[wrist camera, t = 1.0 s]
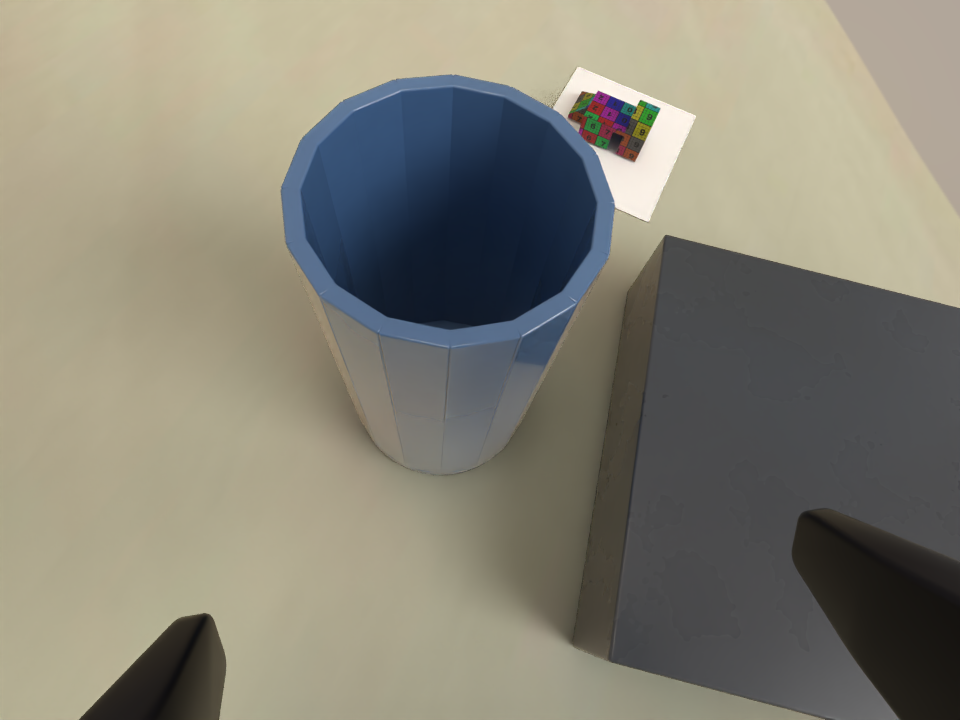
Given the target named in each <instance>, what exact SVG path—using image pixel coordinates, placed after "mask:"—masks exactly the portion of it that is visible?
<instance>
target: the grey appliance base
mask: <svg viewBox="0 0 960 720" xmlns="http://www.w3.org/2000/svg"><path fill="white" fill-rule="evenodd" d="M820 508H829V509H832V510H835V511H837V512H840V513H842V514H845V515H847V516H850V517H852V518H855V519H857V520H859V521H862V522H864V523H867V524H869V525H872V526H874V527H877V528H879V529H882V530H884V531H887V532H889V533H892V534H894V535H897V536H899V537H902V538H904V539H907V540H909V541H912V542H914V543H917V544H919V545H922V546H924V547H926V548H929V549H931V550H934V551H936V552H939V553H941V554H944V555H946V556H949V557H951V558H954V559H956V560H959V561H960V308H957V307H953V306H949V305H945V304H941V303H937V302H933V301H929V300H925V299H921V298H917V297H913V296H909V295H905V294H901V293H897V292H893V291H889V290H885V289H881V288H877V287H873V286H869V285H865V284H861V283H857V282H853V281H849V280H845V279H841V278H837V277H833V276H829V275H825V274H821V273H817V272H813V271H809V270H805V269H801V268H797V267H793V266H789V265H785V264H781V263H777V262H773V261H769V260H765V259H761V258H757V257H753V256H749V255H745V254H741V253H737V252H733V251H729V250H725V249H721V248H717V247H713V246H709V245H705V244H701V243H697V242H693V241H689V240H685V239H681V238H677V237H673V236H669V235H665V236H664V238H663V239H662V241H661V242H660V244H659V245H658V247H657V248H656V250H655V251H654V253H653V254H652V256H651V257H650V259H649V260H648V262H647V263H646V265H645V267H644V268H643V270H642V271H641V273H640V274H639V276H638V277H637V279H636V280H635V282H634V283H633V285H632V286H631V288H630V289H629V291H628V294H627V300H626V307H625V313H624V319H623V326H622V332H621V338H620V345H619V351H618V358H617V364H616V370H615V377H614V383H613V389H612V396H611V402H610V409H609V415H608V421H607V428H606V434H605V440H604V447H603V453H602V460H601V466H600V472H599V479H598V485H597V491H596V498H595V504H594V511H593V517H592V523H591V530H590V536H589V542H588V549H587V555H586V562H585V568H584V574H583V581H582V587H581V593H580V600H579V606H578V613H577V619H576V625H575V632H574V638H573V647H574V648H577V649H579V650H582V651H584V652H587V653H589V654H592V655H594V656H596V657H599V658H601V659H604V660H606V661H609V662H612V663H615V664H619V665H623V666H627V667H630V668H634V669H638V670H642V671H645V672H649V673H653V674H657V675H660V676H664V677H668V678H672V679H676V680H679V681H683V682H687V683H691V684H694V685H698V686H702V687H706V688H709V689H713V690H717V691H721V692H724V693H728V694H732V695H736V696H740V697H743V698H747V699H751V700H755V701H758V702H762V703H766V704H770V705H773V706H777V707H781V708H785V709H788V710H792V711H796V712H800V713H804V714H807V715H811V716H815V717H819V718H822V719H826V720H899V718H898V717H897V716H896V715H895V713H894V712H893V711H892V709H891V708H890V707H889V705H888V704H887V703H886V701H885V700H884V699H883V697H882V696H881V695H880V693H879V692H878V691H877V689H876V688H875V687H874V685H873V684H872V683H871V682H870V680H869V679H868V678H867V676H866V675H865V674H864V672H863V671H862V669H861V668H860V667H859V665H858V664H857V663H856V661H855V660H854V658H853V657H852V655H851V654H850V652H849V651H848V649H847V648H846V646H845V645H844V643H843V642H842V640H841V639H840V637H839V636H838V634H837V632H836V631H835V629H834V628H833V626H832V625H831V623H830V621H829V620H828V618H827V617H826V615H825V613H824V612H823V610H822V609H821V607H820V605H819V604H818V602H817V601H816V599H815V598H814V596H813V594H812V593H811V591H810V590H809V588H808V586H807V585H806V583H805V582H804V580H803V579H802V577H801V575H800V574H799V572H798V571H797V569H796V567H795V565H794V563H793V559H792V553H791V552H792V545H793V541H794V536H795V531H796V526H797V521H798V517H799V516H800V514H801V513H802V512H804V511H808V510H814V509H820Z"/></svg>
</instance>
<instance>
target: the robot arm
mask: <svg viewBox="0 0 960 720" xmlns="http://www.w3.org/2000/svg"><path fill="white" fill-rule="evenodd" d="M791 553H792V559H793V563H794V565H795V567H796V569H797V571H798V572H799V574H800V575H801V577H802V579H803V580H804V582H805V583H806V585H807V586H808V588H809V590H810V591H811V593H812V594H813V596H814V598H815V599H816V601H817V602H818V604H819V605H820V607H821V609H822V610H823V612H824V613H825V615H826V617H827V618H828V620H829V621H830V623H831V625H832V626H833V628H834V629H835V631H836V632H837V634H838V636H839V637H840V639H841V640H842V642H843V643H844V645H845V646H846V648H847V649H848V651H849V652H850V654H851V655H852V657H853V658H854V660H855V661H856V663H857V664H858V665H859V667H860V668H861V669H862V671H863V672H864V674H865V675H866V676H867V678H868V679H869V680H870V682H871V683H872V684H873V685H874V687H875V688H876V689H877V691H878V692H879V693H880V695H881V696H882V697H883V699H884V700H885V701H886V703H887V704H888V705H889V707H890V708H891V709H892V711H893V712H894V713H895V715H896V716H897V717H898V718H899V720H960V561H959V560H956V559H954V558H951V557H949V556H946V555H944V554H941V553H939V552H936V551H934V550H931V549H929V548H926V547H924V546H922V545H919V544H917V543H914V542H912V541H909V540H907V539H904V538H902V537H899V536H897V535H894V534H892V533H889V532H887V531H884V530H882V529H879V528H877V527H874V526H872V525H869V524H867V523H864V522H862V521H859V520H857V519H855V518H852V517H850V516H847V515H845V514H842V513H840V512H837V511H835V510H832V509H829V508H820V509H814V510H808V511H804V512H802V513H801V514H800V516H799V517H798V521H797V526H796V531H795V536H794V541H793V545H792V552H791ZM225 675H226V657H225V652H224V649H223V646H222V643H221V640H220V637H219V634H218V631H217V628H216V625H215V622H214V620H213V618H212V616H211V615H210V614H206V613H203V614H197V615H191V616H185V617H181V618H178V619H177V620H176V621H174V622H173V623H172V624H171V625H170V626H169V627H168V628H167V629H166V630H165V631H164V632H163V633H162V634H161V635H160V636H159V637H158V639H157V640H156V641H155V642H154V643H153V644H152V645H151V646H150V647H149V648H148V649H147V650H146V651H145V652H144V653H143V654H142V655H141V656H140V657H139V658H138V659H137V660H136V661H135V662H134V663H133V664H132V665H131V666H130V667H129V668H128V669H127V671H126V672H125V673H124V674H123V675H122V676H121V677H120V678H119V679H118V680H117V681H116V682H115V683H114V684H113V685H112V686H111V687H110V688H109V689H108V690H107V691H106V692H105V693H104V694H103V695H102V696H101V697H100V698H99V699H98V700H97V701H96V703H95V704H94V705H93V706H92V707H91V708H90V709H89V710H88V711H87V712H86V713H85V714H84V715H83V716H82V717H81V718H80V719H79V720H219V716H220V709H221V702H222V695H223V688H224V682H225Z"/></svg>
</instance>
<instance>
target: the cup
mask: <svg viewBox="0 0 960 720" xmlns="http://www.w3.org/2000/svg"><path fill="white" fill-rule="evenodd" d="M281 201H282V211H283V222H284V233H285V243H286V245H287V249H288V251H289V253H290V256H291V258H292V260H293V263H294V265H295V267H296V270H297V272H298V275H299V277H300V279H301V282H302V284H303V286H304V289H305V291H306V293H307V296H308V298H309V300H310V303H311V305H312V308H313V310H314V312H315V315H316V317H317V319H318V322H319V324H320V326H321V329H322V331H323V334H324V336H325V338H326V341H327V343H328V345H329V348H330V350H331V352H332V355H333V357H334V360H335V362H336V364H337V367H338V369H339V371H340V374H341V376H342V378H343V381H344V383H345V386H346V388H347V390H348V393H349V395H350V397H351V400H352V402H353V404H354V407H355V409H356V411H357V414H358V416H359V419H360V420H361V422H362V424H363V425H364V427H365V429H366V431H367V432H368V434H369V436H370V438H371V439H372V440H373V442H374V443H375V445H376V446H377V447H378V448H379V449H380V450H381V451H382V452H383V453H384V454H385V455H386V456H388V457H389V458H390V459H392V460H393V461H395V462H396V463H398V464H400V465H401V466H404V467H406V468H408V469H411V470H413V471H417V472H421V473H425V474H432V475H450V474H457V473H461V472H465V471H469V470H471V469H474V468H476V467H479V466H480V465H482V464H484V463H486V462H487V461H489V460H490V459H492V458H493V457H494V456H496V455H497V454H498V453H499V452H500V451H501V450H502V449H503V448H504V447H505V446H506V445H507V443H508V442H509V440H510V439H511V438H512V436H513V434H514V432H515V431H516V429H517V428H518V426H519V425H520V423H521V422H522V420H523V418H524V416H525V414H526V412H527V410H528V408H529V407H530V405H531V403H532V401H533V399H534V397H535V395H536V393H537V392H538V390H539V388H540V386H541V384H542V382H543V380H544V378H545V376H546V375H547V373H548V371H549V369H550V367H551V365H552V363H553V361H554V360H555V358H556V356H557V354H558V352H559V350H560V348H561V346H562V344H563V343H564V341H565V339H566V337H567V335H568V333H569V331H570V329H571V328H572V326H573V324H574V322H575V320H576V318H577V316H578V314H579V312H580V311H581V309H582V307H583V305H584V303H585V301H586V299H587V297H588V296H589V294H590V292H591V290H592V288H593V286H594V284H595V282H596V280H597V279H598V277H599V275H600V273H601V271H602V269H603V267H604V265H605V264H606V262H607V260H608V257H609V255H610V246H611V237H612V229H613V220H614V211H615V204H614V203H615V202H614V199H613V196H612V193H611V190H610V187H609V185H608V182H607V179H606V176H605V174H604V171H603V168H602V165H601V163H600V160H599V157H598V155H597V154H596V152H595V150H594V149H593V148H592V147H591V146H590V145H589V144H588V143H587V142H586V141H585V140H584V138H583V137H582V136H581V135H580V134H579V133H578V132H577V131H576V130H575V129H574V127H573V126H572V125H571V124H570V123H569V122H568V121H567V120H566V119H565V118H564V117H563V115H562V114H560V113H559V112H557V111H555V110H554V109H552V108H550V107H548V106H546V105H544V104H543V103H541V102H539V101H537V100H535V99H533V98H532V97H530V96H528V95H526V94H524V93H522V92H521V91H519V90H517V89H515V88H513V87H510V86H508V85H503V84H498V83H493V82H489V81H484V80H479V79H474V78H469V77H464V76H459V75H452V74H450V75H438V76H426V77H414V78H402V79H396V80H391V81H389V82H387V83H384V84H382V85H379V86H377V87H374V88H372V89H370V90H367V91H365V92H362V93H360V94H357V95H355V96H353V97H350V98H348V99H345V100H343V102H340V103H339V104H338V105H337V106H336V107H335V108H334V109H333V110H332V111H330V112H329V113H328V114H327V115H326V116H325V117H324V118H323V119H322V120H321V121H320V122H319V123H318V124H316V125H315V126H314V127H313V128H312V129H311V130H310V131H309V132H308V133H307V134H306V135H305V136H303V138H302V139H301V141H300V143H299V145H298V148H297V150H296V153H295V155H294V157H293V160H292V162H291V165H290V167H289V169H288V172H287V174H286V177H285V179H284V182H283V184H282V186H281Z"/></svg>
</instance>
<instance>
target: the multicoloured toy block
mask: <svg viewBox="0 0 960 720" xmlns="http://www.w3.org/2000/svg"><path fill="white" fill-rule="evenodd" d="M552 109H554V110H555V111H557V112H559V113H560V114H562V115H563V117H564V118H565V119H566V120H567V121H568V122H569V123H570V124H571V125H572V126H573V127H574V129H575V130H576V131H577V132H578V133H579V134H580V135H581V136H582V137H583V138H584V140H585V141H586V142H587V143H588V144H589V145H590V146H591V147H592V148H593V149H594V150H595V152H596V154H597V155H598V157H599V160H600V163H601V165H602V168H603V171H604V174H605V176H606V179H607V182H608V185H609V187H610V190H611V193H612V196H613V199H614V202H615V203H614V204H615V208H617V209H619V210H621V211H624V212H626V213H628V214H630V215H633V216H635V217H637V218H640V219H642V220H644V221H646V222H649V219H650V217H651V215H652V213H653V211H654V208H655V206H656V204H657V202H658V199H659V197H660V195H661V193H662V191H663V188H664V186H665V184H666V182H667V180H668V177H669V175H670V173H671V171H672V168H673V166H674V164H675V162H676V160H677V157H678V155H679V153H680V151H681V149H682V146H683V144H684V142H685V140H686V138H687V135H688V133H689V131H690V129H691V126H692V124H693V122H694V120H695V118H696V116H695V115H693V114H691V113H688V112H686V111H683V110H681V109H679V108H676V107H674V106H671V105H669V104H667V103H664V102H662V101H659V100H657V99H655V98H652V97H650V96H647V95H645V94H643V93H640V92H638V91H635V90H633V89H631V88H628V87H626V86H623V85H621V84H619V83H616V82H614V81H611V80H609V79H607V78H604V77H602V76H599V75H597V74H595V73H592V72H590V71H587V70H585V69H583V68H580V67H577V69H576V71H575V72H574V74H573V75H572V77H571V79H570V80H569V82H568V84H567V85H566V87H565V89H564V90H563V92H562V94H561V95H560V97H559V99H558V100H557V102H556V104H555V105H554V107H553V108H552Z"/></svg>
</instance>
